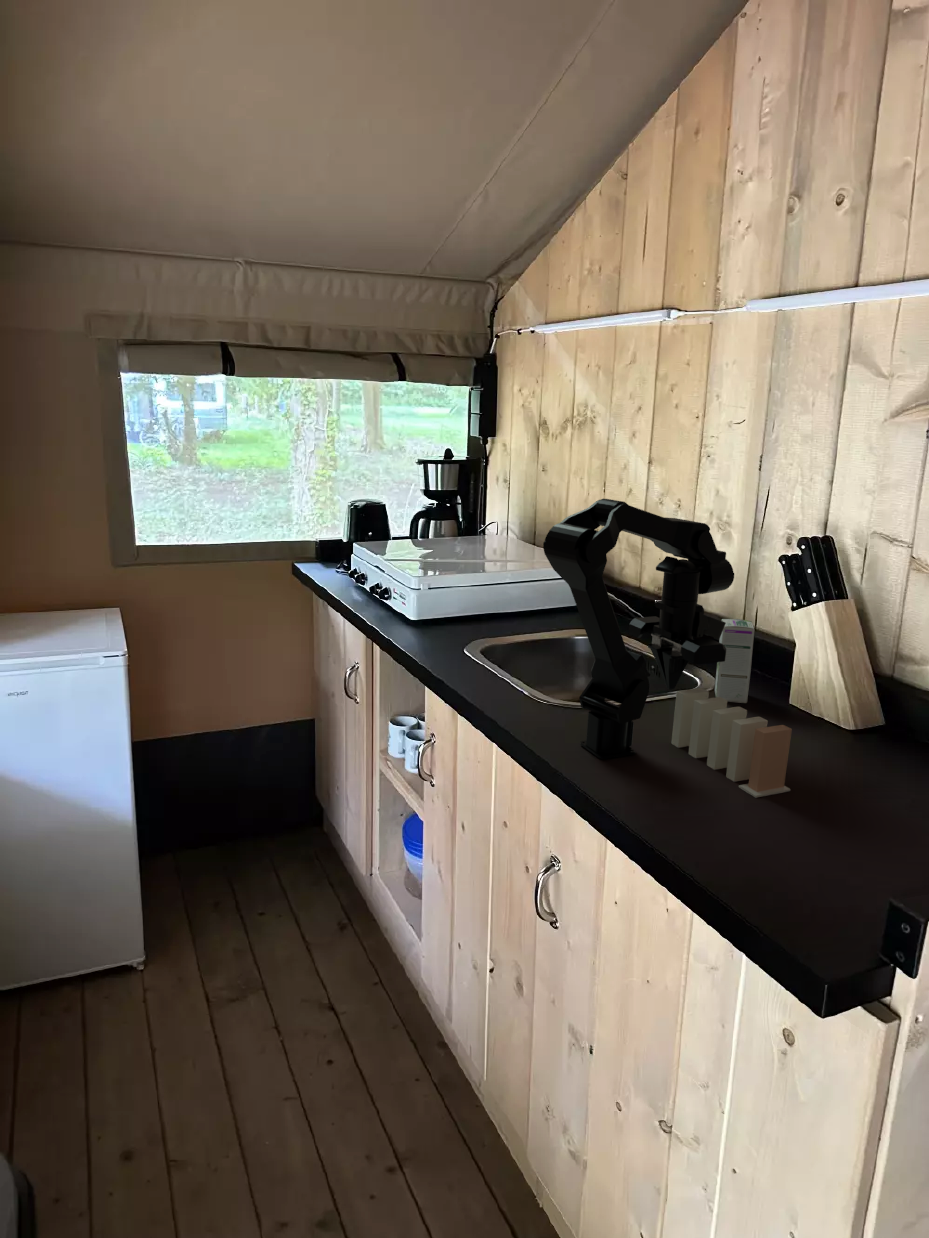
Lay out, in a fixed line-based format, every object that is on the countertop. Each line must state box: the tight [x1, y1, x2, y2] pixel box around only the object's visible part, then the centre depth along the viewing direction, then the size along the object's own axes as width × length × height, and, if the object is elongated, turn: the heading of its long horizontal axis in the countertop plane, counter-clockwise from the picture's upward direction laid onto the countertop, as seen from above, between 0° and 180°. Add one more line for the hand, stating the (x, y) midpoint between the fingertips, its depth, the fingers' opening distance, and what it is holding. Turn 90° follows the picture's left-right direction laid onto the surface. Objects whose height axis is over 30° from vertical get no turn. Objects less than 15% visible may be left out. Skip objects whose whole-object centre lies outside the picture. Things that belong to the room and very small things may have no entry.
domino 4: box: [725, 716, 769, 783], centre depth 135 cm, size 2×5×9 cm, turn 114°
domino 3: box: [706, 706, 748, 771], centre depth 138 cm, size 2×5×9 cm, turn 114°
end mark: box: [738, 783, 791, 798], centre depth 132 cm, size 6×4×1 cm, turn 114°
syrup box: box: [714, 618, 756, 704], centre depth 169 cm, size 6×6×14 cm
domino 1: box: [671, 687, 710, 749], centre depth 146 cm, size 2×5×9 cm, turn 114°
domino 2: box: [688, 696, 728, 759], centre depth 142 cm, size 2×5×9 cm, turn 114°
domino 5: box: [748, 724, 793, 792], centre depth 131 cm, size 2×5×9 cm, turn 113°
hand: (670, 688), depth 151 cm, fingers closed
